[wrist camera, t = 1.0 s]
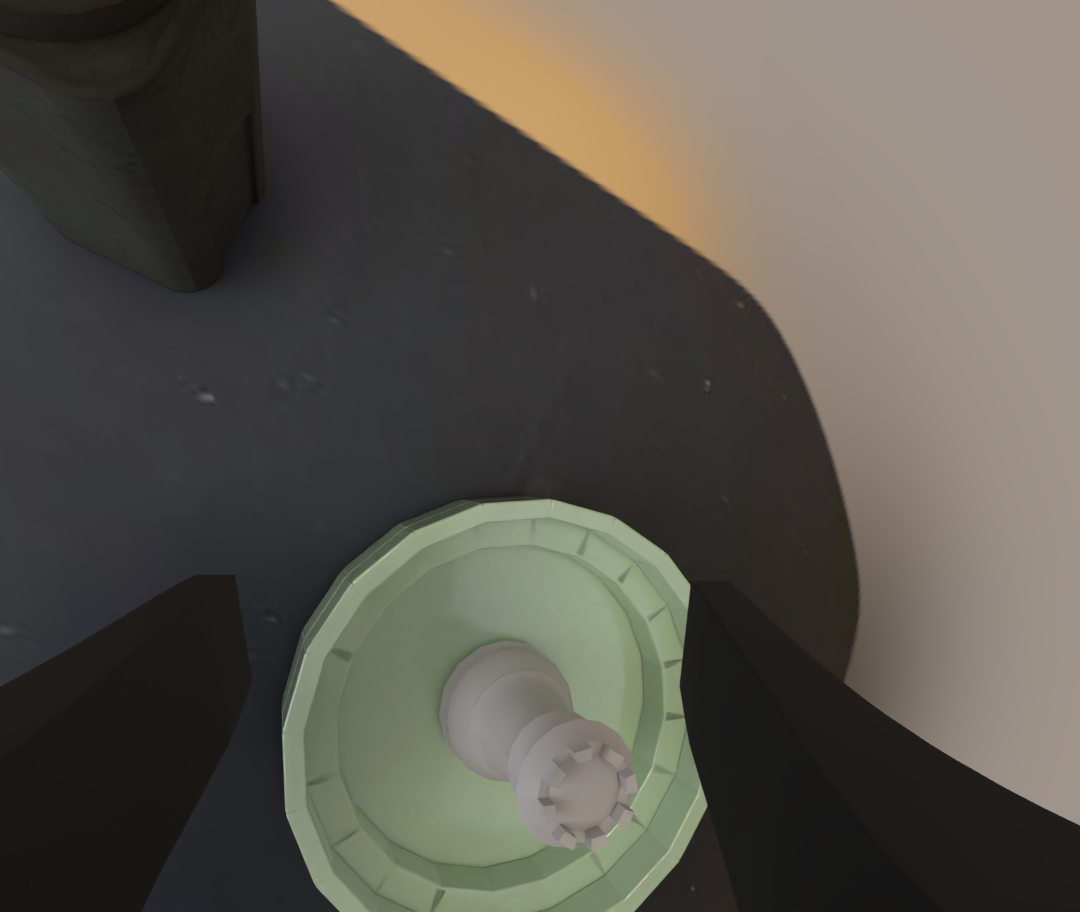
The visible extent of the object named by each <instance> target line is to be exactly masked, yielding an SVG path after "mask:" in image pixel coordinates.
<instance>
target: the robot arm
mask: <svg viewBox="0 0 1080 912" xmlns="http://www.w3.org/2000/svg"><path fill="white" fill-rule="evenodd" d="M251 683H252V675H251V669H250V663H249V657H248V651H247V645H246V639H245V633H244V627H243V621H242V615H241V609H240V603H239V597H238V592H237V586H236V580H235V575H194V576H192V577H190V578H188V579H186V580H184V581H182V582H181V583H179V584H177V585H175V586H173V587H172V588H170V589H168V590H166V591H165V592H163V593H161V594H160V595H158V596H156V597H155V598H153V599H151V600H150V601H148V602H146V603H145V604H143V605H141V606H140V607H138V608H136V609H135V610H133V611H131V612H130V613H128V614H126V615H125V616H123V617H122V618H120V619H118V620H117V621H115V622H113V623H112V624H110V625H108V626H107V627H105V628H103V629H102V630H100V631H98V632H97V633H95V634H93V635H92V636H90V637H88V638H87V639H85V640H83V641H82V642H80V643H78V644H76V645H75V646H73V647H71V648H69V649H68V650H66V651H64V652H62V653H60V654H59V655H57V656H55V657H53V658H51V659H50V660H48V661H46V662H44V663H42V664H41V665H39V666H37V667H35V668H34V669H32V670H30V671H28V672H26V673H25V674H23V675H21V676H19V677H17V678H16V679H14V680H12V681H10V682H8V683H6V684H5V685H3V686H1V687H0V912H142V909H143V907H144V905H145V903H146V901H147V898H148V896H149V894H150V892H151V890H152V888H153V886H154V884H155V882H156V880H157V878H158V876H159V874H160V872H161V870H162V868H163V866H164V864H165V862H166V861H167V859H168V857H169V855H170V853H171V851H172V849H173V847H174V846H175V844H176V842H177V840H178V838H179V836H180V834H181V833H182V831H183V829H184V827H185V825H186V823H187V821H188V819H189V818H190V816H191V814H192V812H193V810H194V808H195V806H196V805H197V803H198V801H199V799H200V797H201V795H202V793H203V791H204V790H205V788H206V786H207V784H208V782H209V780H210V778H211V776H212V774H213V772H214V771H215V769H216V767H217V765H218V763H219V761H220V759H221V757H222V755H223V753H224V751H225V749H226V747H227V745H228V743H229V742H230V740H231V737H232V735H233V732H234V730H235V727H236V724H237V722H238V719H239V717H240V714H241V711H242V709H243V706H244V703H245V700H246V697H247V694H248V691H249V689H250V686H251ZM679 686H680V692H681V699H682V705H683V711H684V717H685V723H686V729H687V734H688V740H689V745H690V748H691V752H692V755H693V759H694V762H695V765H696V769H697V772H698V776H699V779H700V782H701V786H702V789H703V792H704V796H705V799H706V802H707V805H708V809H709V812H710V815H711V819H712V822H713V825H714V828H715V832H716V835H717V838H718V842H719V845H720V848H721V851H722V855H723V858H724V861H725V865H726V868H727V871H728V874H729V878H730V881H731V885H732V889H733V893H734V897H735V900H736V904H737V908H738V912H1080V825H1078V824H1076V823H1073V822H1071V821H1069V820H1067V819H1065V818H1063V817H1061V816H1059V815H1057V814H1055V813H1053V812H1051V811H1048V810H1047V809H1044V808H1042V807H1041V806H1038V805H1037V804H1035V803H1033V802H1031V801H1029V800H1027V799H1025V798H1023V797H1021V796H1019V795H1018V794H1015V793H1013V792H1012V791H1010V790H1008V789H1006V788H1004V787H1002V786H1001V785H999V784H997V783H995V782H994V781H992V780H990V779H988V778H987V777H985V776H983V775H981V774H980V773H978V772H976V771H974V770H973V769H971V768H969V767H967V766H966V765H964V764H962V763H960V762H959V761H956V760H955V759H953V758H952V757H950V756H948V755H947V754H945V753H944V752H942V751H940V750H939V749H937V748H935V747H934V746H932V745H930V744H929V743H927V742H926V741H924V740H923V739H921V738H920V737H919V736H917V735H916V734H914V733H913V732H911V731H910V730H908V729H907V728H905V727H903V726H902V725H901V724H899V723H897V722H896V721H895V720H893V719H891V718H890V717H889V716H887V715H886V714H884V713H883V712H882V711H880V710H879V709H877V708H876V707H874V706H873V705H872V704H870V703H869V702H868V701H866V700H865V699H864V698H862V697H861V696H860V695H859V694H857V693H856V692H855V691H854V690H852V689H851V688H850V687H848V686H847V685H846V684H845V683H843V682H842V681H841V680H839V679H838V678H837V677H836V676H834V675H833V674H832V673H831V672H829V671H828V670H827V669H826V668H825V667H823V666H822V665H821V664H820V663H819V662H817V661H816V660H815V659H814V658H813V657H812V656H810V655H809V654H808V653H807V652H806V651H805V650H803V649H802V648H801V647H800V646H799V645H798V644H797V643H796V642H794V641H793V640H792V639H791V638H790V637H789V636H788V635H787V634H786V633H784V632H783V631H782V630H781V629H780V628H779V627H778V626H777V625H776V624H775V623H774V622H773V621H771V620H770V619H769V618H768V617H767V616H766V615H765V614H764V613H763V612H762V611H761V610H760V609H759V608H758V607H756V606H755V605H754V604H753V603H752V602H751V601H750V600H749V599H748V598H747V597H746V596H745V595H744V594H743V593H742V592H740V591H739V590H738V589H737V588H736V587H735V586H734V585H733V584H732V583H730V582H704V581H691V586H690V595H689V604H688V613H687V622H686V631H685V640H684V649H683V658H682V667H681V676H680V685H679Z"/></svg>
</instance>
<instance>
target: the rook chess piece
mask: <svg viewBox="0 0 1080 912" xmlns="http://www.w3.org/2000/svg"><path fill="white" fill-rule="evenodd" d="M439 716H440V721H441V727H442V732H443V737H444V740H445V741H446V742H447V744H448V745H449V747H450V748H451V750H452V751H453V753H454V754H455V756H456V757H457V758H458V759H459V760H461V761H462V763H463V764H464V766H465V767H466V768H468V769H470V770H472V771H473V772H475V773H477V774H479V775H480V776H482V777H484V778H486V779H488V780H491V781H505V782H510V787H511V789H512V790H513V792H514V793H515V795H516V796H517V801H518V806H519V812H520V817H521V818H522V820H523V821H524V823H525V824H526V826H527V827H528V829H529V830H530V831H531V833H532V834H533V836H534V837H536V838H538V839H540V840H542V841H543V842H545V843H547V844H549V845H551V846H552V847H563V848H569V849H571V850H574V848H578V847H580V846H583V845H587V847H588V848H589V849H590V850H591V851H594V850H597V849H599V848H602V847H604V846H607V845H609V841H608V839H607V836H606V834H605V833H606V832H608V831H609V830H610V829H611V828H612V827H613V826H614V825H615V824H616V823H617V824H618V825H619V826H620V827H621V828H623V829H624V830H625V829H626V828H627V826H628V824H629V822H630V820H631V818H632V817H633V815H634V813H635V812H634V811H633V810H632V809H631V808H630V807H629V806H628V803H629V801H630V798H631V793H637V792H638V787H637V781H636V775H635V773H634V769H633V764H632V758H631V752H630V750H629V749H628V747H627V746H626V744H625V743H624V741H623V739H622V738H621V736H620V735H619V733H618V732H616V731H615V730H613V729H611V728H610V727H608V726H607V725H605V724H603V723H602V722H600V721H593V720H587V719H586V718H584V717H582V716H581V715H579V714H578V713H576V712H574V710H573V704H572V699H571V693H570V688H569V685H568V683H567V681H566V680H565V678H564V677H563V675H562V674H561V672H560V670H559V669H558V667H557V666H556V664H554V663H553V662H551V660H550V659H549V657H548V656H547V655H545V654H544V653H542V652H540V651H539V650H537V649H536V648H534V647H533V646H531V645H530V644H527V643H520V642H512V641H505V640H504V641H501V642H497V643H493V644H490V645H486V646H483V647H480V648H478V649H477V650H476V651H474V652H473V653H472V654H471V655H469V656H468V657H467V658H465V659H464V660H463V661H461V662H460V663H459V664H458V666H457V667H456V669H455V670H454V672H453V673H452V675H451V677H450V678H449V680H448V681H447V683H446V685H445V686H444V691H443V696H442V700H441V705H440V710H439Z"/></svg>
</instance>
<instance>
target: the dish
mask: <svg viewBox="0 0 1080 912" xmlns="http://www.w3.org/2000/svg"><path fill="white" fill-rule="evenodd" d="M689 595H690V584H689V583H688V581H687V580H686V579H685V577H684V576H683V575H682V573H681V572H680V571H679V569H678V568H677V566H676V565H675V564H674V562H673V561H672V560H671V558H670V557H669V555H668V554H667V553H665V551H663V550H662V549H660V548H659V547H657V546H656V545H655V544H653V543H652V542H650V541H649V540H647V539H646V538H645V537H643V536H642V535H640V534H639V533H638V532H636V531H635V530H633V529H632V528H630V527H629V526H628V525H626V524H625V523H623V522H622V521H620V520H619V519H618V518H616V517H613V516H611V515H608V514H604V513H601V512H597V511H593V510H590V509H586V508H583V507H579V506H576V505H572V504H569V503H565V502H561V501H558V500H554V499H546V498H536V497H527V496H510V497H493V498H476V499H461V500H457V501H455V502H452V503H450V504H447V505H445V506H442V507H439V508H437V509H434V510H432V511H429V512H427V513H424V514H422V515H419V516H417V517H414V518H412V519H409V520H407V521H404V522H402V523H399V524H398V525H397V526H395V527H394V528H392V529H391V530H390V531H389V532H388V533H386V534H385V535H384V536H383V537H381V538H380V539H379V540H378V541H376V542H375V543H374V544H373V545H372V546H370V547H369V548H368V549H367V550H365V551H364V552H363V553H362V554H361V555H359V556H358V557H357V558H356V559H354V560H353V561H352V562H351V563H349V564H348V565H347V566H346V567H345V568H344V570H342V571H341V572H340V574H339V575H338V577H337V578H336V580H335V581H334V583H333V584H332V586H331V587H330V589H329V590H328V592H327V593H326V595H325V596H324V598H323V599H322V601H321V602H320V604H319V605H318V607H317V608H316V610H315V611H314V613H313V614H312V616H311V617H310V619H309V620H308V622H307V623H306V625H305V626H304V628H303V631H302V632H301V636H300V639H299V643H298V646H297V649H296V653H295V656H294V660H293V663H292V667H291V670H290V674H289V677H288V681H287V684H286V687H285V691H284V694H283V698H282V747H283V771H284V796H285V812H286V817H287V819H288V822H289V824H290V827H291V829H292V832H293V834H294V836H295V839H296V841H297V844H298V846H299V849H300V851H301V854H302V856H303V858H304V861H305V863H306V866H307V868H308V871H309V873H310V875H311V878H312V880H313V883H314V884H315V885H316V888H317V889H318V890H319V891H320V892H321V893H322V894H323V895H324V896H325V897H326V898H327V899H328V900H329V901H330V902H331V903H332V904H333V905H334V906H335V907H336V908H337V909H338V911H339V912H634V911H635V910H636V909H637V908H638V907H639V906H640V905H641V904H642V902H643V901H644V900H645V899H646V898H647V897H648V896H649V895H650V894H651V892H652V891H653V890H654V889H655V888H656V887H657V886H658V885H659V883H660V882H661V881H662V880H663V879H664V878H665V877H666V876H667V874H668V873H669V872H670V871H671V870H672V869H673V868H674V867H675V865H676V864H677V863H678V862H679V859H681V857H682V855H683V853H684V851H685V849H686V847H687V845H688V843H689V841H690V839H691V837H692V836H693V834H694V832H695V830H696V828H697V826H698V824H699V822H700V820H701V818H702V816H703V814H704V812H705V810H706V808H707V806H708V805H707V802H706V799H705V796H704V792H703V789H702V786H701V782H700V779H699V776H698V772H697V769H696V765H695V762H694V759H693V755H692V752H691V748H690V745H689V740H688V734H687V729H686V723H685V717H684V711H683V705H682V699H681V692H680V686H679V685H680V676H681V667H682V658H683V649H684V640H685V631H686V622H687V613H688V604H689ZM504 640H505V641H512V642H520V643H527V644H530V645H531V646H533V647H534V648H536V649H537V650H539V651H540V652H542V653H544V654H545V655H547V656H548V657H549V659H550V660H551V662H553V663H554V664H556V666H557V667H558V669H559V670H560V672H561V674H562V675H563V677H564V678H565V680H566V681H567V683H568V685H569V688H570V693H571V699H572V704H573V710H574V712H576V713H578V714H579V715H581V716H582V717H584V718H586V719H587V720H593V721H600V722H602V723H603V724H605V725H607V726H608V727H610V728H611V729H613V730H615V731H616V732H618V733H619V735H620V736H621V738H622V739H623V741H624V743H625V744H626V746H627V747H628V749H629V750H630V752H631V758H632V764H633V769H634V773H635V775H636V781H637V787H638V792H637V793H631V798H630V801H629V803H628V806H629V807H630V808H631V809H632V810H633V811H634V812H635V813H634V815H633V817H632V818H631V820H630V822H629V824H628V826H627V828H626V829H625V830H624V829H623V828H621V827H620V826H619V825H618V824H617V823H616V824H615V825H614V826H613V827H612V828H611V829H610V830H609V831H608V832H606V833H605V834H606V836H607V839H608V841H609V845H607V846H604V847H602V848H599V849H597V850H594V851H591V850H590V849H589V848H588V847H587V845H583V846H580V847H578V848H574V850H571V849H569V848H563V847H552V846H551V845H549V844H547V843H545V842H543V841H542V840H540V839H538V838H536V837H534V836H533V834H532V833H531V831H530V830H529V829H528V827H527V826H526V824H525V823H524V821H523V820H522V818H521V817H520V812H519V806H518V801H517V796H516V795H515V793H514V792H513V790H512V789H511V787H510V782H505V781H491V780H488V779H486V778H484V777H482V776H480V775H479V774H477V773H475V772H473V771H472V770H470V769H468V768H466V767H465V766H464V764H463V763H462V761H461V760H459V759H458V758H457V757H456V756H455V754H454V753H453V751H452V750H451V748H450V747H449V745H448V744H447V742H446V741H445V740H444V737H443V732H442V727H441V721H440V716H439V710H440V705H441V700H442V696H443V691H444V686H445V685H446V683H447V681H448V680H449V678H450V677H451V675H452V673H453V672H454V670H455V669H456V667H457V666H458V664H459V663H460V662H461V661H463V660H464V659H465V658H467V657H468V656H469V655H471V654H472V653H473V652H474V651H476V650H477V649H478V648H480V647H483V646H486V645H490V644H493V643H497V642H501V641H504Z"/></svg>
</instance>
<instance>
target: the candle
mask: <svg viewBox="0 0 1080 912" xmlns="http://www.w3.org/2000/svg"><path fill="white" fill-rule="evenodd" d="M0 168H1V169H2V171H3V172H4V173H5V174H6V175H7V176H8V177H9V178H10V179H11V180H12V181H13V182H14V184H15V185H16V186H17V187H18V188H19V189H20V190H21V191H22V192H23V193H24V194H25V195H26V197H27V198H28V199H29V200H30V201H31V202H32V203H33V204H34V205H35V206H36V207H37V209H38V210H39V211H40V212H41V213H42V214H43V215H44V216H45V217H46V218H47V219H48V220H49V222H50V223H51V224H52V225H53V226H54V227H55V228H56V229H57V230H58V231H59V232H60V233H61V234H62V235H63V236H64V237H66V238H67V239H69V240H71V241H72V242H74V243H76V244H78V245H80V246H82V247H84V248H86V249H88V250H90V251H92V252H94V253H96V254H99V255H101V256H103V257H105V258H107V259H109V260H111V261H113V262H115V263H117V264H119V265H121V266H123V267H125V268H127V269H129V270H131V271H133V272H136V273H138V274H140V275H142V276H144V277H146V278H148V279H150V280H152V281H154V282H156V283H158V284H160V285H162V286H164V287H167V288H170V289H172V290H175V291H182V292H192V291H199V290H201V289H204V288H206V287H208V286H210V285H211V284H212V283H214V282H215V281H216V280H217V279H218V277H219V276H220V275H221V273H222V272H223V268H222V264H221V259H222V258H223V256H224V254H225V252H226V250H227V248H228V246H229V244H230V243H231V241H232V239H233V237H234V235H235V233H236V231H237V229H238V227H239V226H240V224H241V222H242V220H243V218H244V216H245V214H246V212H247V211H248V209H249V207H250V205H251V203H252V202H259V201H260V200H261V197H262V194H263V192H264V162H263V141H262V120H261V99H260V79H259V58H258V37H257V16H256V0H0Z"/></svg>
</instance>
